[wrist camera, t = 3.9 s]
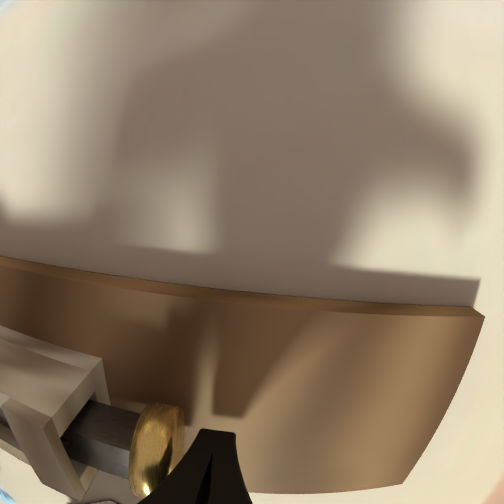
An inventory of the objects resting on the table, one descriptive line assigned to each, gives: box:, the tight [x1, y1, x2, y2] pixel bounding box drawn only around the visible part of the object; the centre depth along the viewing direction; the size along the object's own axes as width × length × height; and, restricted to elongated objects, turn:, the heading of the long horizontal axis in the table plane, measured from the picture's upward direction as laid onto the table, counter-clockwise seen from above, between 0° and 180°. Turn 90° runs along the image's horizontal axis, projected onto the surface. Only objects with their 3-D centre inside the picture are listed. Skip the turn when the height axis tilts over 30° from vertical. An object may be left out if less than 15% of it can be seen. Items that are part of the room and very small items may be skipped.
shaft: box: [0, 399, 185, 499], centre depth 9 cm, size 12×4×4 cm, turn 85°
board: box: [0, 256, 485, 502], centre depth 10 cm, size 25×11×6 cm, turn 85°
